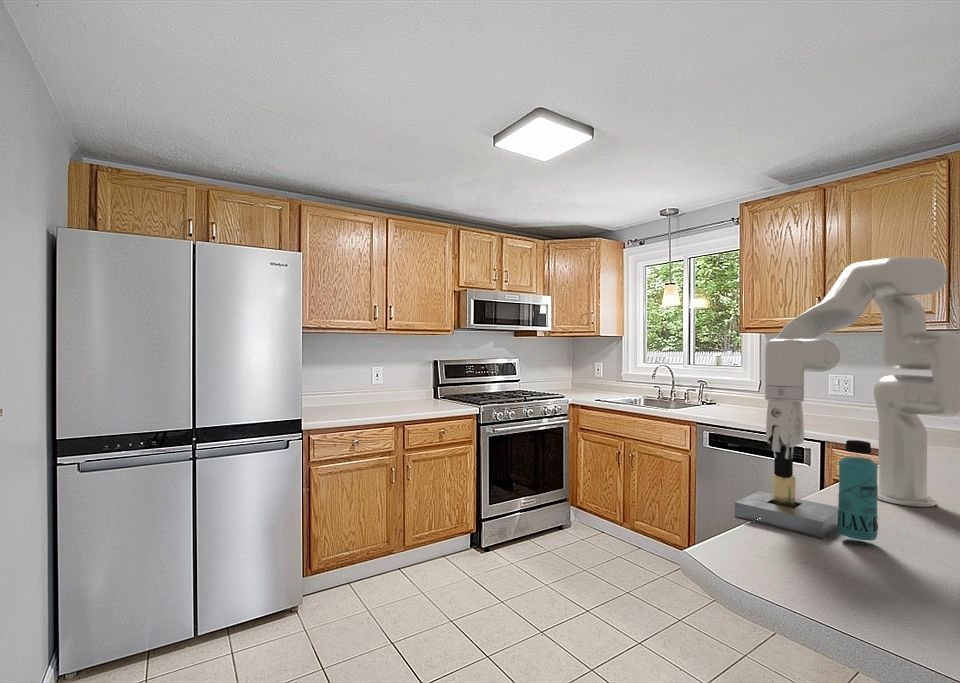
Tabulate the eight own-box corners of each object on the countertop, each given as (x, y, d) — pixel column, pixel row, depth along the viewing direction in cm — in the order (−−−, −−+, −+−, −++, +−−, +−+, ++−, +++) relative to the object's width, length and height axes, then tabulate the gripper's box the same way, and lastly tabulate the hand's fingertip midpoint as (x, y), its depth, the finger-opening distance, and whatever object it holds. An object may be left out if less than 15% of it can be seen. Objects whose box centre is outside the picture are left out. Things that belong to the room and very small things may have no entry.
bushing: (798, 516, 115) (797, 475, 115) (791, 520, 112) (791, 479, 112) (777, 511, 118) (777, 472, 118) (770, 516, 115) (770, 475, 115)
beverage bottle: (829, 538, 103) (829, 438, 103) (852, 534, 105) (852, 437, 106) (863, 550, 97) (863, 444, 97) (886, 546, 99) (886, 442, 99)
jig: (758, 505, 124) (758, 490, 125) (842, 523, 112) (842, 507, 112) (734, 517, 115) (734, 502, 115) (822, 539, 102) (822, 521, 102)
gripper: (791, 396, 107) (790, 484, 107) (813, 393, 117) (813, 474, 117) (753, 394, 113) (752, 477, 113) (777, 391, 123) (777, 468, 123)
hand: (783, 475), depth 115 cm, fingers closed
